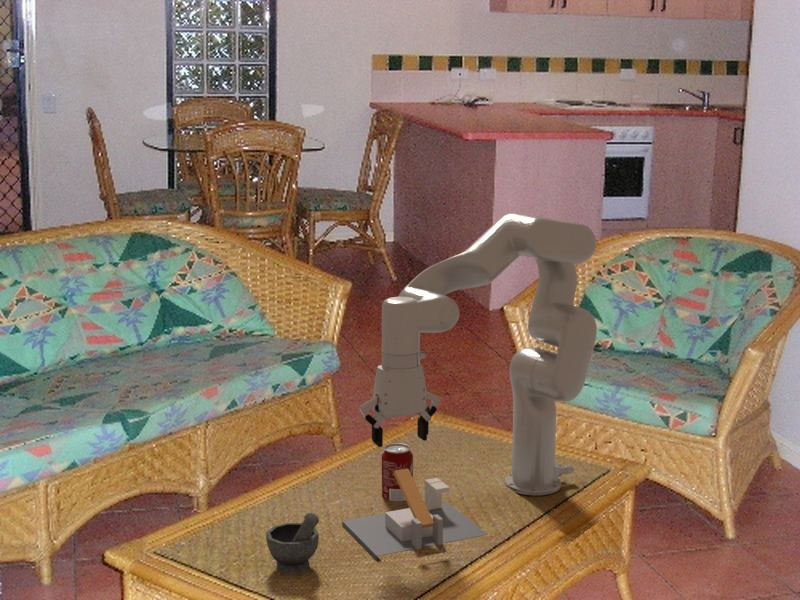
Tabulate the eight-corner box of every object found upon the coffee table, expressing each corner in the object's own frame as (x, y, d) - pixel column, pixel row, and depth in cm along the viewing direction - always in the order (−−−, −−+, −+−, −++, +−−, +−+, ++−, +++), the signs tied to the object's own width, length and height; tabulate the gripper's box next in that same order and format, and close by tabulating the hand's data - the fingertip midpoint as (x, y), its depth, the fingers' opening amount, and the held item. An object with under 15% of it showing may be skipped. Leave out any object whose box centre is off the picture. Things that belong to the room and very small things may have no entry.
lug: (437, 504, 245) (437, 477, 244) (449, 513, 240) (449, 486, 239) (424, 506, 244) (424, 479, 242) (436, 516, 239) (436, 489, 237)
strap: (407, 471, 235) (408, 468, 235) (433, 526, 226) (434, 522, 225) (393, 473, 234) (394, 470, 233) (419, 528, 225) (420, 525, 224)
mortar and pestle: (256, 568, 218) (255, 509, 216) (291, 551, 225) (289, 493, 223) (300, 585, 211) (299, 524, 209) (334, 567, 219) (333, 508, 216)
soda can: (409, 507, 247) (409, 454, 244) (378, 504, 248) (378, 452, 245) (415, 495, 253) (415, 443, 250) (385, 493, 254) (385, 441, 252)
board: (446, 507, 247) (447, 478, 245) (488, 540, 230) (489, 510, 229) (342, 526, 237) (341, 496, 235) (378, 562, 220) (377, 531, 219)
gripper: (432, 350, 235) (431, 430, 239) (352, 359, 228) (353, 441, 232) (448, 359, 228) (447, 442, 232) (367, 369, 222) (367, 453, 225)
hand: (400, 441), depth 232 cm, fingers open, 9 cm apart
